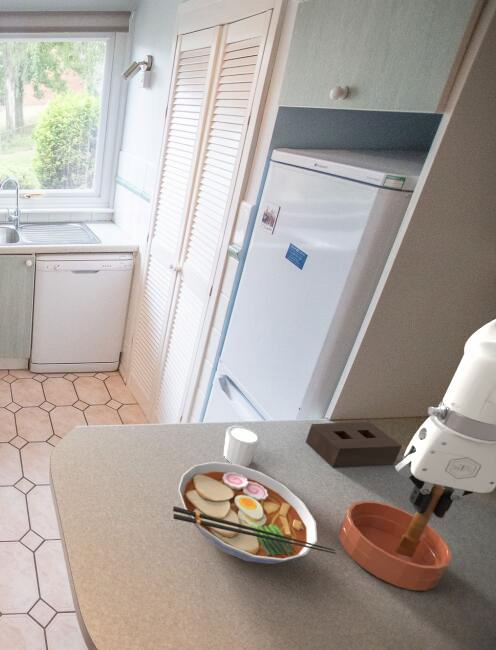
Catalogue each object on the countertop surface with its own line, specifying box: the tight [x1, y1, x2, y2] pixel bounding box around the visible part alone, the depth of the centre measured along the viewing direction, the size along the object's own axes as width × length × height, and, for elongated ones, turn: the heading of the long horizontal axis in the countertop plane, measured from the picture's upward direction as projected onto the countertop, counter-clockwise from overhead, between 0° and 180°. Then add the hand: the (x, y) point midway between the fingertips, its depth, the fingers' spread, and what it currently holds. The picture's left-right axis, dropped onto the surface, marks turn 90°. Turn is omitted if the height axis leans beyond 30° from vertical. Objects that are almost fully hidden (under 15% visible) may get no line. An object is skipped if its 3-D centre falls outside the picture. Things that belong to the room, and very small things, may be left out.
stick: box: [395, 484, 446, 558], centre depth 77 cm, size 2×2×16 cm
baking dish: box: [338, 500, 453, 591], centre depth 81 cm, size 14×14×6 cm
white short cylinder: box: [223, 424, 261, 468], centre depth 104 cm, size 7×7×7 cm
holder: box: [305, 421, 403, 469], centre depth 106 cm, size 9×15×6 cm, turn 93°
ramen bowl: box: [172, 461, 336, 565], centre depth 85 cm, size 25×23×8 cm
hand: (425, 508), depth 76 cm, fingers closed on stick, 1 cm apart
